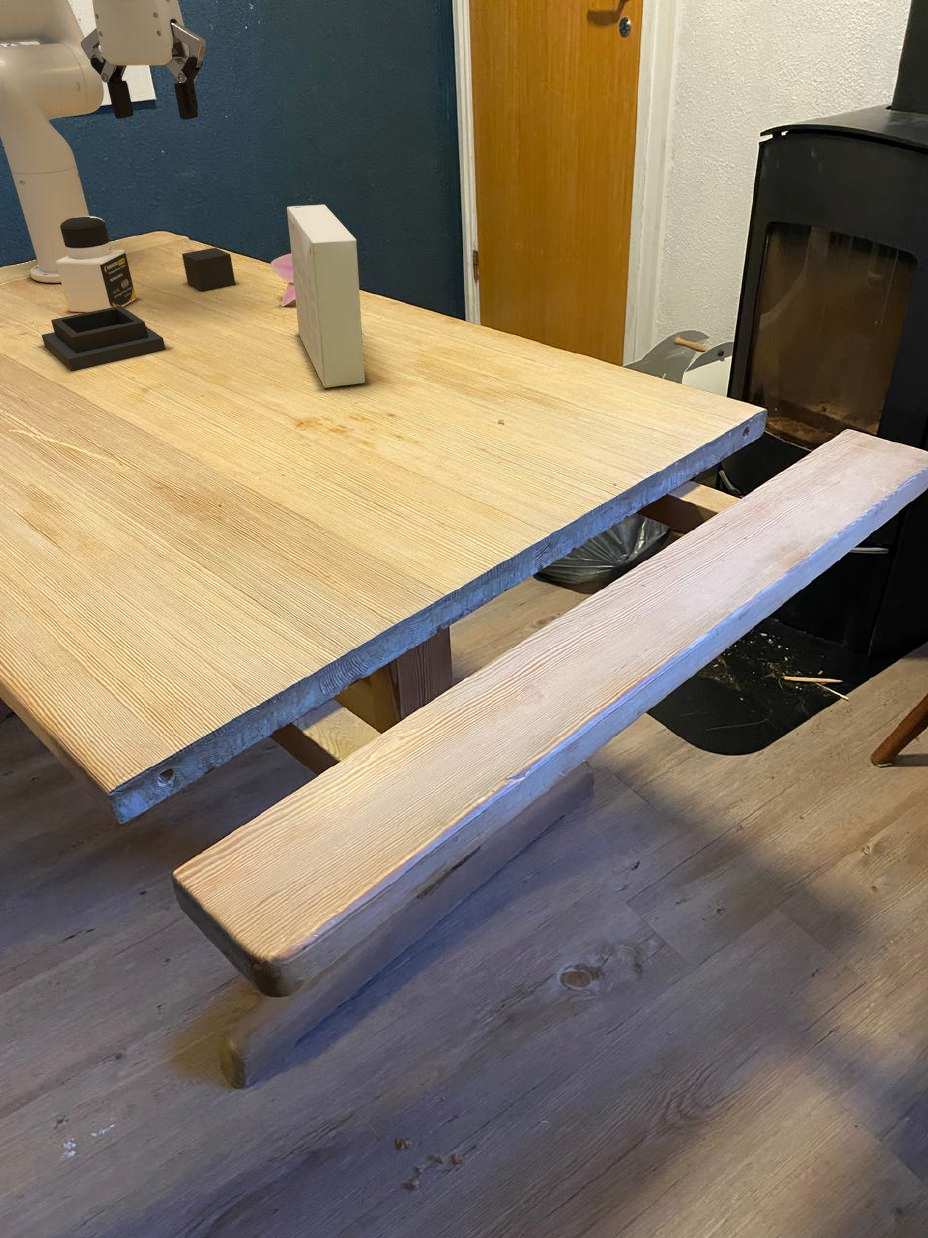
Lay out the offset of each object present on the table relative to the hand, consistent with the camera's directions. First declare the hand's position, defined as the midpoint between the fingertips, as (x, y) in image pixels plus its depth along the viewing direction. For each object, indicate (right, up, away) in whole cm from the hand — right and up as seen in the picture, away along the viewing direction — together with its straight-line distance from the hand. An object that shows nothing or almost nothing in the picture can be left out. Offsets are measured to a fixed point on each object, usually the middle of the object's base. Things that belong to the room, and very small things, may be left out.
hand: (156, 117), depth 116 cm
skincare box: (+23, -32, -4) cm, 40 cm away
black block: (0, -12, +25) cm, 28 cm away
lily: (+17, -19, +15) cm, 30 cm away
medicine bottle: (-14, -18, +17) cm, 29 cm away
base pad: (-7, -29, +2) cm, 30 cm away
